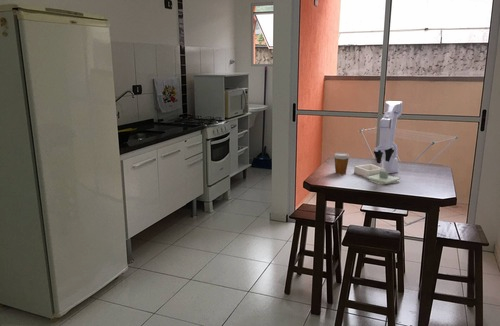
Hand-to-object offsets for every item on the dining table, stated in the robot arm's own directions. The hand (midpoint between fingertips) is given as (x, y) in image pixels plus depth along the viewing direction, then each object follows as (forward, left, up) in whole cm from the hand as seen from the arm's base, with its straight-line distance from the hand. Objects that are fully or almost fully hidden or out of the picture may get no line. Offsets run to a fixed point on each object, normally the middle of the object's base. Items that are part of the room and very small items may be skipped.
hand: (383, 162), depth 242 cm
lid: (+2, +4, -9) cm, 10 cm away
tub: (0, -11, -10) cm, 15 cm away
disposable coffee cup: (+14, -21, -11) cm, 28 cm away
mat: (+2, +4, -10) cm, 11 cm away
